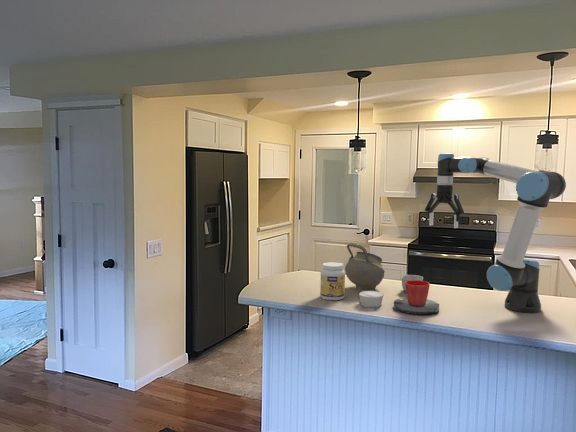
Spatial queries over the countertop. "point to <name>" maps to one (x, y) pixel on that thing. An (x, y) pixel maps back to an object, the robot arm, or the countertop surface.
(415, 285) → the flower pot
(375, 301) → the ramekin
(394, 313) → the countertop surface
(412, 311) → the disc
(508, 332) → the countertop surface
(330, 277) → the supplement tub
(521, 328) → the countertop surface
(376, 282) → the pot
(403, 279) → the teacup
